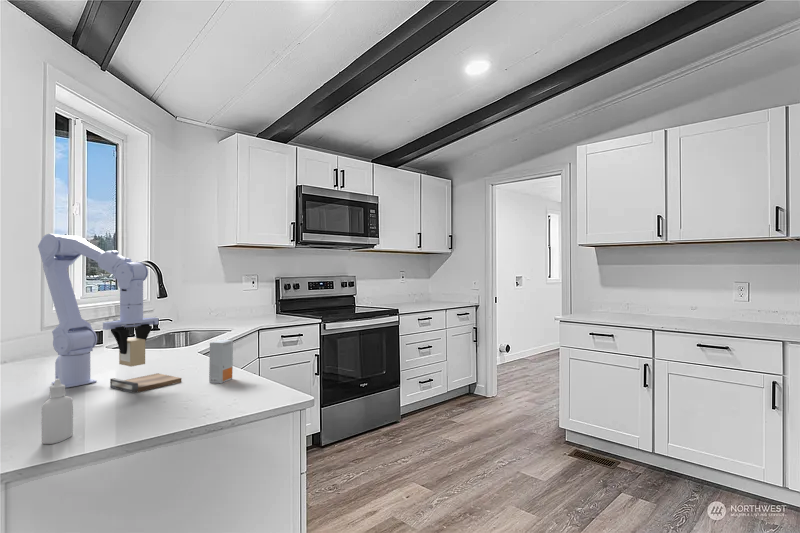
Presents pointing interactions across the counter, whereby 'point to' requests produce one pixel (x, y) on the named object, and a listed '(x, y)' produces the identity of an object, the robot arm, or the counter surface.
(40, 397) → the counter surface
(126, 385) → the tan tray
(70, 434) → the eye dropper bottle
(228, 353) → the skincare box
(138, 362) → the box
